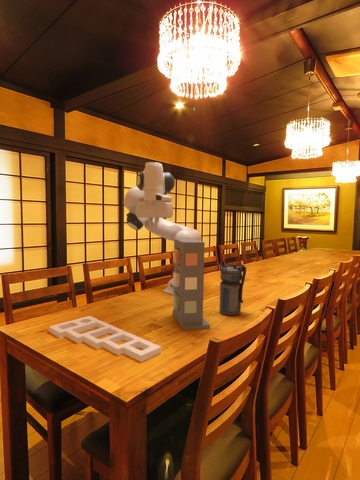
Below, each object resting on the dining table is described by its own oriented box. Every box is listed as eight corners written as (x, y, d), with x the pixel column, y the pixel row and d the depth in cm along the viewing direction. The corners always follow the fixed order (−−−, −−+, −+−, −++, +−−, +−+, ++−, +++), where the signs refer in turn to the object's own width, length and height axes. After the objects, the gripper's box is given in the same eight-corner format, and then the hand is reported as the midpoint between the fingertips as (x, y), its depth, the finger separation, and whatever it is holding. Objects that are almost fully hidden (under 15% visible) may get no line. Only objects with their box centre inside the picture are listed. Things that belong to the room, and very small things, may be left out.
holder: (161, 354, 101) (161, 346, 101) (117, 374, 88) (117, 366, 87) (89, 321, 131) (89, 315, 131) (49, 333, 118) (49, 326, 117)
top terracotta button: (175, 263, 127) (176, 250, 126) (173, 261, 132) (173, 249, 132) (189, 263, 128) (189, 250, 128) (186, 261, 133) (186, 249, 133)
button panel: (182, 330, 121) (184, 242, 118) (172, 313, 143) (173, 238, 140) (209, 328, 124) (211, 242, 121) (195, 311, 145) (197, 238, 142)
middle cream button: (175, 286, 128) (175, 274, 127) (173, 283, 133) (173, 271, 133) (189, 286, 129) (189, 273, 128) (186, 283, 134) (186, 271, 134)
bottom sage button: (175, 309, 128) (175, 296, 128) (172, 305, 134) (172, 293, 133) (188, 308, 130) (188, 296, 129) (185, 305, 135) (185, 293, 135)
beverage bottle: (239, 318, 136) (241, 265, 134) (214, 312, 144) (215, 262, 142) (248, 313, 144) (250, 262, 142) (224, 308, 152) (225, 259, 150)
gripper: (132, 197, 140) (132, 227, 141) (166, 196, 127) (165, 228, 129) (142, 198, 145) (142, 226, 146) (175, 197, 132) (174, 228, 134)
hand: (153, 227), depth 137 cm, fingers closed
